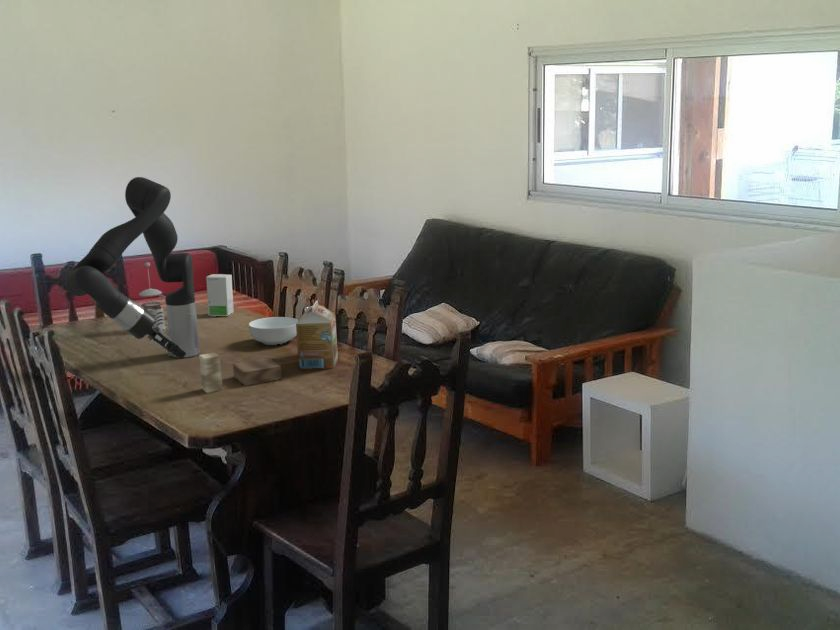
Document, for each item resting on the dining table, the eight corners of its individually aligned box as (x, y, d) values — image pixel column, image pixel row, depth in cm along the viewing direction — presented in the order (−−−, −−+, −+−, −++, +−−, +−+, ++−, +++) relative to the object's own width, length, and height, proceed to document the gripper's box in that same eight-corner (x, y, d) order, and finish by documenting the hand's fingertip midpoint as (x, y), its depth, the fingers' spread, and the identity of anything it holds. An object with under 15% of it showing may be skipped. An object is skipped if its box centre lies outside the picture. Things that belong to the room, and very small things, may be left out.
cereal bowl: (267, 351, 306) (265, 330, 304) (240, 343, 318) (239, 322, 316) (310, 341, 316) (308, 321, 315) (283, 333, 329) (281, 314, 327)
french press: (135, 330, 342) (128, 262, 337) (164, 324, 350) (158, 258, 344) (147, 334, 335) (140, 265, 330) (177, 328, 343) (170, 261, 337)
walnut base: (245, 385, 268) (243, 372, 268) (234, 376, 278) (232, 363, 277) (281, 379, 273) (280, 366, 272) (269, 370, 283) (268, 357, 282)
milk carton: (304, 359, 294) (300, 300, 290) (337, 358, 293) (334, 299, 289) (299, 369, 283) (294, 307, 279) (333, 368, 283) (330, 306, 279)
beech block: (206, 392, 263) (203, 358, 261) (202, 388, 267) (199, 355, 265) (222, 390, 265) (219, 356, 263) (218, 386, 269) (215, 352, 267)
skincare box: (208, 316, 360) (204, 277, 357) (214, 313, 366) (211, 273, 363) (229, 316, 359) (225, 276, 355) (235, 313, 365) (231, 273, 362)
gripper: (147, 312, 247) (195, 347, 254) (137, 302, 259) (182, 337, 267) (129, 334, 246) (177, 369, 253) (119, 324, 258) (165, 358, 266)
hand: (180, 352), depth 260 cm, fingers open, 8 cm apart
